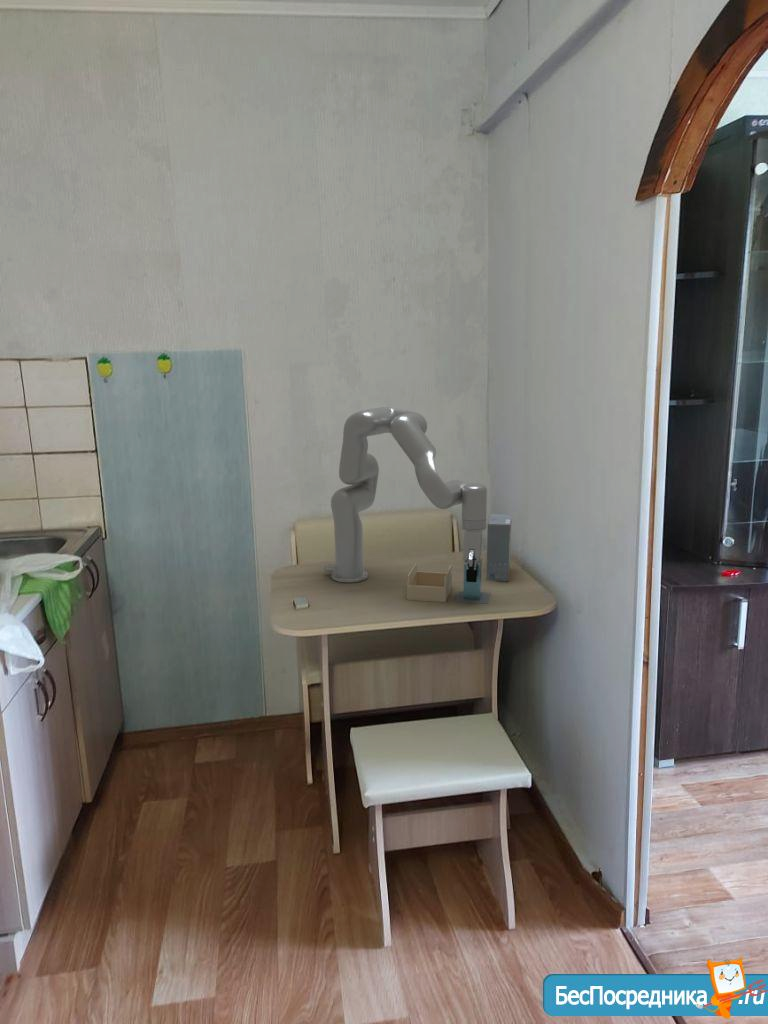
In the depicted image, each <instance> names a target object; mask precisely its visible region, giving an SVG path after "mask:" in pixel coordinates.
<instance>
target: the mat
mask: <svg viewBox="0 0 768 1024" xmlns="http://www.w3.org/2000/svg"><path fill="white" fill-rule="evenodd" d="M490 595H491V592H482V591H481V597H480V600H470V599H463V597H464V590H458V593H457V595H456V598H455V601H454V602H455V603H467V604H480V605H481V604H482V605H488V604H489V600H490Z"/></svg>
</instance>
